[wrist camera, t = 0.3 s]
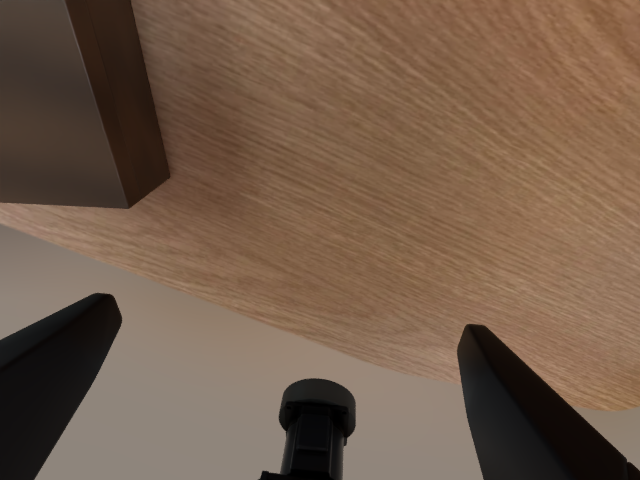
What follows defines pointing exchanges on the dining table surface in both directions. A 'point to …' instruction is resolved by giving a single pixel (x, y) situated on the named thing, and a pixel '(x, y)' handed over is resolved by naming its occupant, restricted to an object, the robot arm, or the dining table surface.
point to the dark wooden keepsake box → (75, 106)
